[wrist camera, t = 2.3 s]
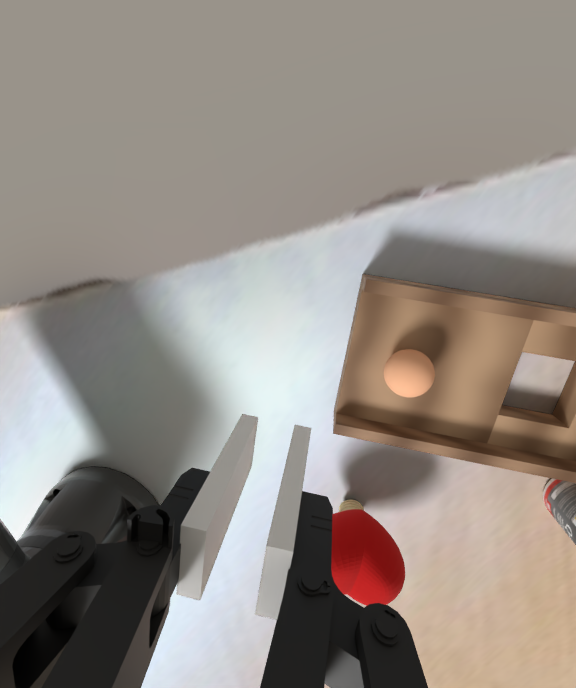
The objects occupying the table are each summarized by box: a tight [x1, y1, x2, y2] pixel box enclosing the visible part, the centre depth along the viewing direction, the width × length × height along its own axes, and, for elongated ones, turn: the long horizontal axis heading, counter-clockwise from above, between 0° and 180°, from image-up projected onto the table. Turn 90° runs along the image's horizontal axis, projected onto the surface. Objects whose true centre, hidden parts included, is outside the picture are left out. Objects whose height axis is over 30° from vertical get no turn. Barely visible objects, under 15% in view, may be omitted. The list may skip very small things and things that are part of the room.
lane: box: [333, 274, 576, 483], centre depth 30 cm, size 24×14×4 cm, turn 81°
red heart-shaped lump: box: [331, 500, 405, 606], centre depth 34 cm, size 9×7×10 cm
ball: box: [384, 349, 435, 397], centre depth 28 cm, size 4×4×4 cm
